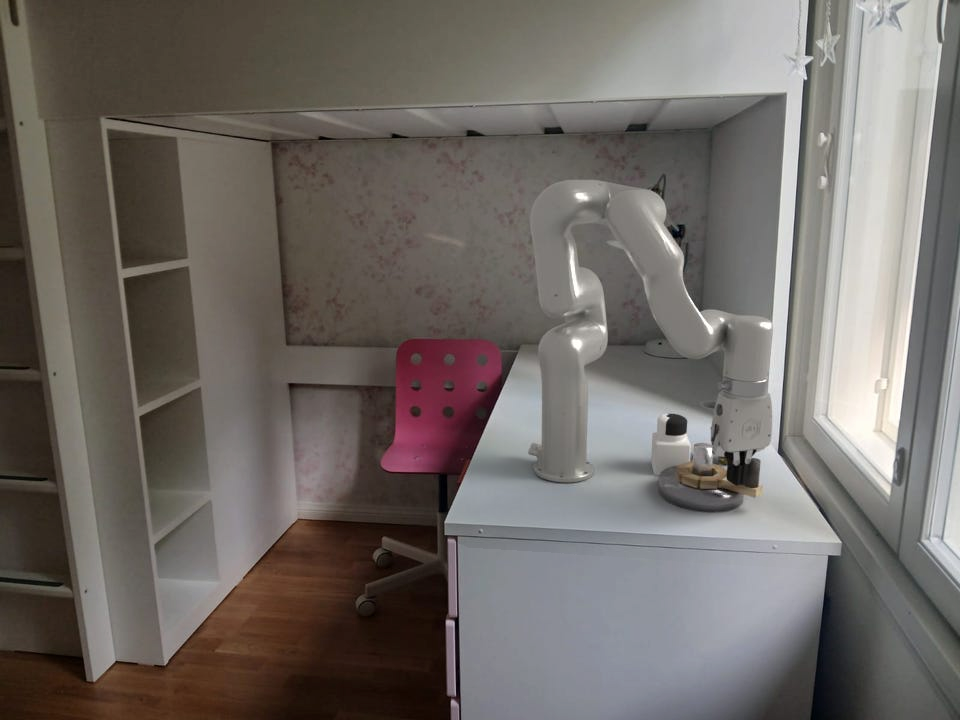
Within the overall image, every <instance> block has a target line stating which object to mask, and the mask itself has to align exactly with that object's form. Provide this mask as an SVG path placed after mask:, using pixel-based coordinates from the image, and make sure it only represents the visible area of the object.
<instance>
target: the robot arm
mask: <svg viewBox="0 0 960 720" xmlns="http://www.w3.org/2000/svg"><path fill="white" fill-rule="evenodd" d="M529 217H530V218H529V228H530V233H531V238H532V239H531V240H532V246H533V252H534V265H535V273H536V283H537V291H538V300H539V305H540V307H541V310H542V312H543V313H544V314H545V315H546V316H547V317H549V318H552V319H565V320H564V321H565V322H564V323H562V324H559V325H557V326H554V327H552V328H551V329H549V330H547V332H545V334H543V336H542V337H541V339H540V341H539V345H538V348H537V349H538V350H537V356H538V362H539V369H540V376H541V377H540V378H541V443H540V444H539V443H536V442H532V443H531V444H530V446H529V448H528V451H527V452H528V455H529V456H533V457H534V456H535V457H536V458H537V460H536V461H535V462H534V464H533V472H534V473H535V475H536V476H538V477H539V478H542V479H544V480H545V481H546V480H547V481H550V482H554V483H555V482H556V483H576V482H582V481H585V480H588V479H589V478H590V477H592V476H593V475H594V465H593V463H591V462H590V461H588V459H587V455H588V454H587V453H588V452H587V450H588V419H589V416H588V415H589V414H588V413H589V412H588V411H589V385H588V380H587V376H586V372H585V366H587V365H589V364H590V363H593V362H595V361H597V360H598V359H600V358H601V357H602V356H603V354H604V353H605V351H606V350H607V348H608V341H609V340H608V337H609V335H608V334H609V333H608V324H607V313H606V303H605V302H606V301H605V295H604V294H605V293H604V288H603V285H602V282H601V281H600V279H599V277H598V275H597V274H596V273H595V272H594V271H592V270H591V269H589V268H586V267H584V266H583V267H582V266H580V265H579V258H578V257H579V256H578V249H577V243H576V241H575V238H574V236H573V234H572V232H571V229H572V227H573V226H576V225H584V224H585V225H586V224H598V225H603V226H607V227H608V228H609V229H610V231H611V233H612V234H613V236H614V237H615V239H616V240H617V242H618V244H619V245H620V246H621V248H622V249H623V251H624V253H625V254H626V257H628V259H629V260H630V262H631V263H632V265H633V267H634V268H635V270H636V271H637V273H638V275H639V276H640V278H641V279H642V282H643V286H644V287H643V288H644V292H645V296H646V298H647V302H648V306H649V309H650V312H651V315H652V316H653V318H654V320H655V322H656V324H657V326H658V327H659V329H660V331H661V332H662V333H663V335H664V337H665V338H666V339H667V341H668V342H669V343H670V345H671V347H673V349H674V350H675V351H676V352H677V353H678V354H680V355H681V356H682V357H685V358H687V359H689V360H690V359H691V360H700V359H703V358H705V357H709V355H711V354H712V353H715V352H719V351H722V350H723V351H724V357H723V370H722V371H723V372H722V381H720V382H718V383H717V386H716V387H717V388H718V390H719V391H720V392H718V394H717V398H716V401H715V406H714V409H713V414H712V420H711V426H710V443H711V445H712V444H713V447H712V450H711V453H713V456H714V455H715V456H717V457H718V456H722V457H724V458H725V460H727V461H728V463H727V464H726V470H727V474H726V476H727V480H728V481H729V482H731V483H733V484H734V485H736V486H738V485H744V484H745V477H746V467H747V464H749V463H750V461H751V458H753V456H755V454H756V453H758V452H761V451H763V450H765V449H766V448H768V447H769V446H770V445H771V442H772V438H773V437H772V435H773V404H772V397H771V393H769V392H768V386H769V384H768V383H769V373H770V364H771V354H772V347H773V346H772V344H773V335H774V325H773V323H772V321H771V320H770V319H769V318H766V317H764V316H758V315H747V314H746V315H739V314H735V313H729V312H726V311H722V310H719V309H713V308H712V309H711V308H710V309H704V310H702V311H699V309H698V307H696V305H695V303H694V302H693V300H692V298H691V297H690V295H689V293H688V290H687V288H686V285H685V282H684V277H683V274H684V273H683V271H684V265H685V257H684V253H683V250H682V249H681V248H680V246H679V244H678V243H677V242H676V240H675V239H674V237H673V235H672V234H671V232H669V230H668V228H667V227H666V226H665V221H666V217H667V207H666V203H665V201H664V200H663V198H662V197H661V196H660V195H659V194H658V193H657V192H655V191H653V190H651V189H647V188H640V187H635V186H630V185H629V186H628V185H624V184H618V183H614V182H610V181H609V182H608V181H606V180H598V179H566V180H561V181H558V182H554V183H553V184H550V185H549V186H548V187H546V188H545V189H543V190H542V191H541V193H539V195H538V196H537V197H536V199H535V201H534V202H533V204H532V208H531V210H530V215H529Z"/></svg>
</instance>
